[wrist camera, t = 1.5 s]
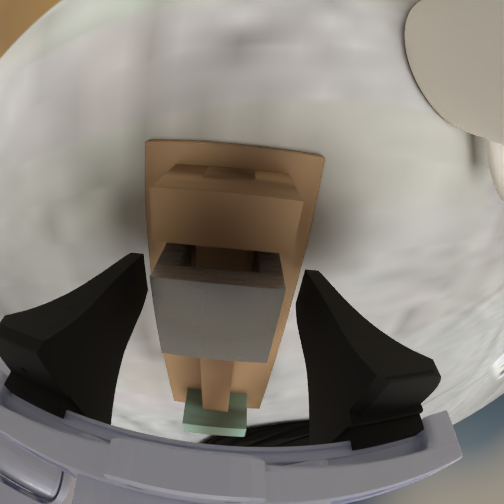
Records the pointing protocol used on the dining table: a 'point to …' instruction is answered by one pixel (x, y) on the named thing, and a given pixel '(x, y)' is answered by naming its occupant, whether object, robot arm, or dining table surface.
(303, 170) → the rail
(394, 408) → the robot arm
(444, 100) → the cup
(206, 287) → the keeper
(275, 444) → the cable lock
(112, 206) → the dining table surface
